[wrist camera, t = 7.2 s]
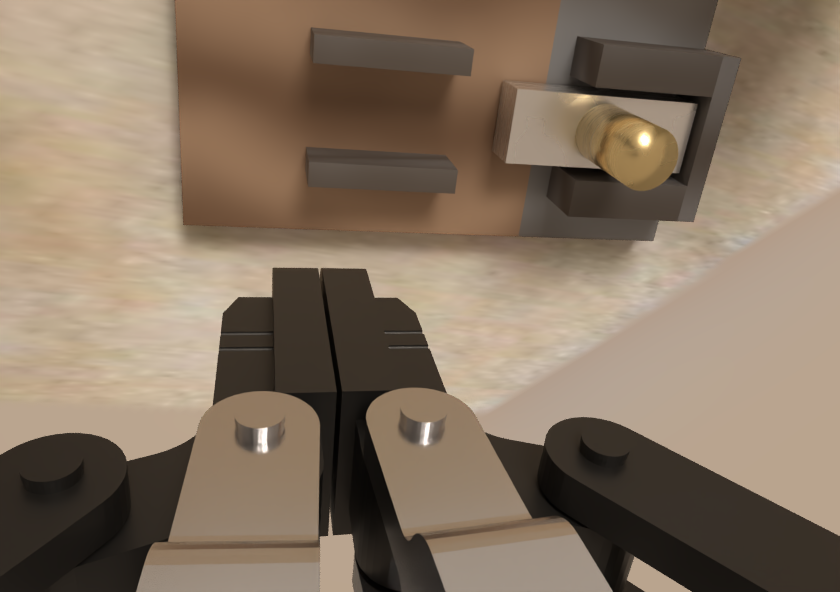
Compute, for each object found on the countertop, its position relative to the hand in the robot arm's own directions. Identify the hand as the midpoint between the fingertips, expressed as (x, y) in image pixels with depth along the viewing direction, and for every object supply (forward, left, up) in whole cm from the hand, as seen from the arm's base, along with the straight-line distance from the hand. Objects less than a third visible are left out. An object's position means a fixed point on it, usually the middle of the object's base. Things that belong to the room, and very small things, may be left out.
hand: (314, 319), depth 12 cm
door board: (0, +7, -21) cm, 22 cm away
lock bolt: (0, +13, -19) cm, 23 cm away
